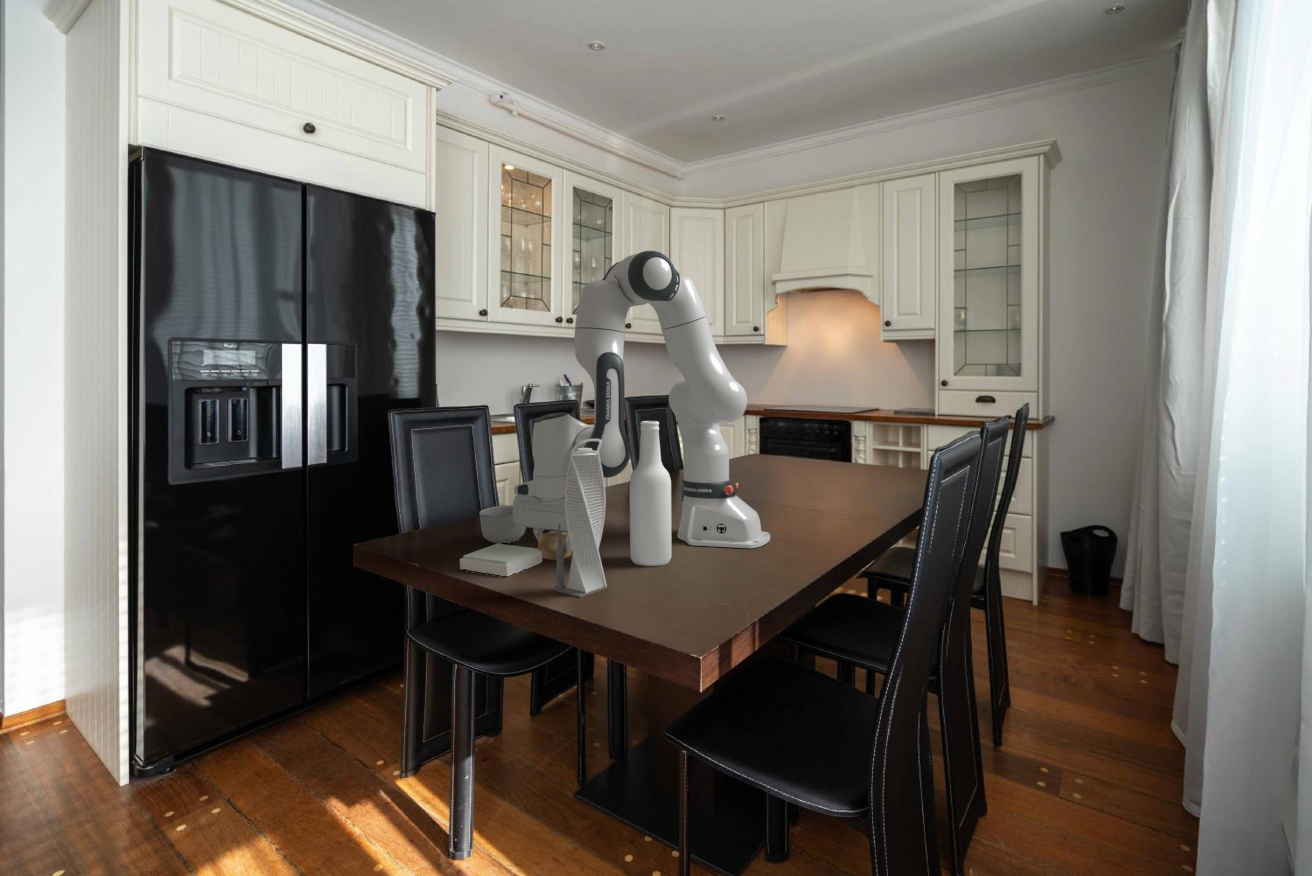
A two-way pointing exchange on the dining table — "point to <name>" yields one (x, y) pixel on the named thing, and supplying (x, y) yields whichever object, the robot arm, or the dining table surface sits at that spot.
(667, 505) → the alcohol
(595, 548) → the skyscraper
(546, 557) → the oak cube
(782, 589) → the dining table surface
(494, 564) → the stand
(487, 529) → the teacup
